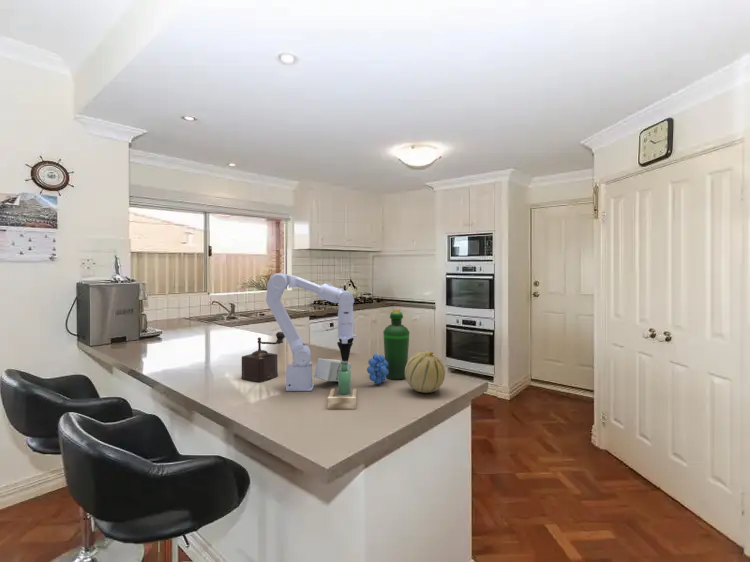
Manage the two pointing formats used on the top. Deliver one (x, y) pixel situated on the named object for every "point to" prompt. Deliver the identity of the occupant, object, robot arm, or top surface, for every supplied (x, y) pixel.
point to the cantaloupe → (425, 372)
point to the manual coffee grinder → (261, 363)
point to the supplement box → (328, 369)
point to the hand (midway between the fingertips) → (345, 359)
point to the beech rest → (342, 401)
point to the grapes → (377, 368)
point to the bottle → (396, 346)
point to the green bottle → (344, 379)
